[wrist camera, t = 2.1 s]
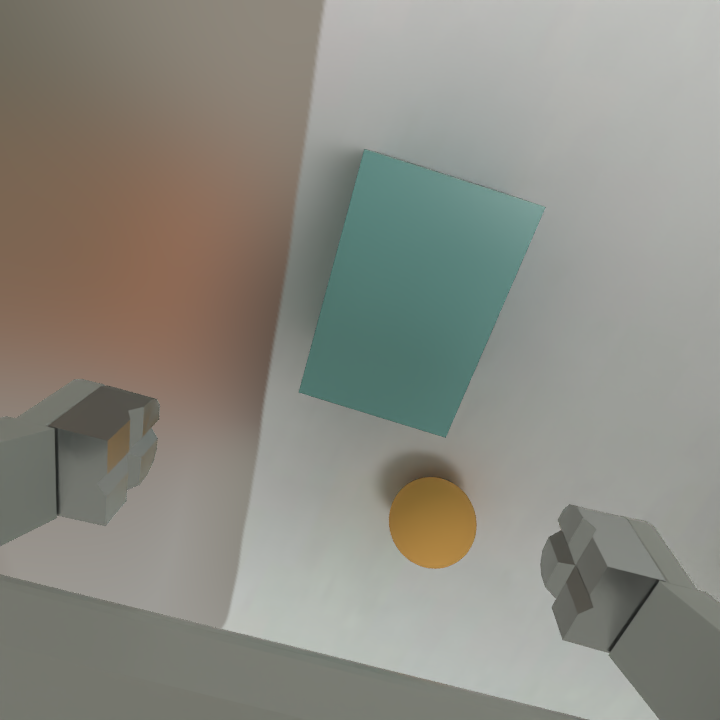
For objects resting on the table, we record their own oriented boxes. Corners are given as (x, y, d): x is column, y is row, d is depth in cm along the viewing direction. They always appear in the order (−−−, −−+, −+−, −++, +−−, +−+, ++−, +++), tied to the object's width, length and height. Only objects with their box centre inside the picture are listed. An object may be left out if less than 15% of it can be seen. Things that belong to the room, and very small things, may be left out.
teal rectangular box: (376, 152, 23) (364, 149, 17) (511, 195, 23) (545, 207, 17) (322, 342, 27) (298, 392, 21) (438, 378, 27) (445, 437, 21)
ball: (450, 448, 28) (458, 504, 24) (483, 510, 30) (497, 573, 25) (376, 477, 30) (370, 534, 25) (412, 534, 31) (412, 599, 27)
